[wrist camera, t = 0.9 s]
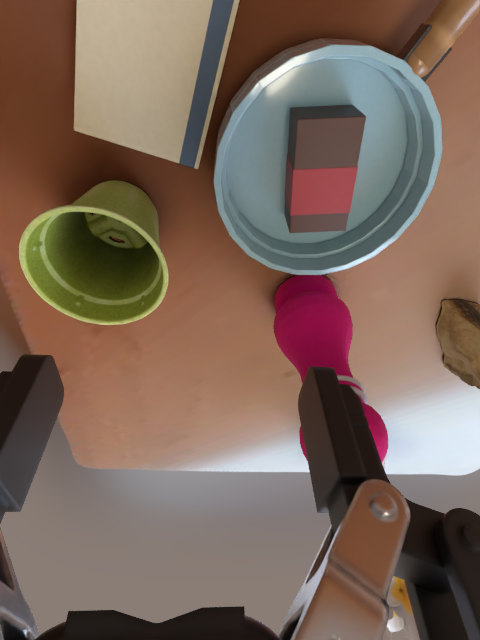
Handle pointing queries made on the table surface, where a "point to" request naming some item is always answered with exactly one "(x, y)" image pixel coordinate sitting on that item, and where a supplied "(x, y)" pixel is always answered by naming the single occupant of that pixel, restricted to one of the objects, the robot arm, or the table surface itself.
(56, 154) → the table surface
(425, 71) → the pan handle
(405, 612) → the flower vase
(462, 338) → the rock
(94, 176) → the table surface
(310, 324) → the pepper mill
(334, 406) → the robot arm
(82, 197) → the plant pot
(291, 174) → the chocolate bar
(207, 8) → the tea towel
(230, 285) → the table surface
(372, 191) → the pan
